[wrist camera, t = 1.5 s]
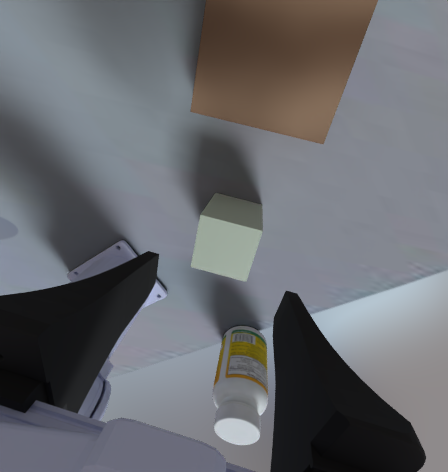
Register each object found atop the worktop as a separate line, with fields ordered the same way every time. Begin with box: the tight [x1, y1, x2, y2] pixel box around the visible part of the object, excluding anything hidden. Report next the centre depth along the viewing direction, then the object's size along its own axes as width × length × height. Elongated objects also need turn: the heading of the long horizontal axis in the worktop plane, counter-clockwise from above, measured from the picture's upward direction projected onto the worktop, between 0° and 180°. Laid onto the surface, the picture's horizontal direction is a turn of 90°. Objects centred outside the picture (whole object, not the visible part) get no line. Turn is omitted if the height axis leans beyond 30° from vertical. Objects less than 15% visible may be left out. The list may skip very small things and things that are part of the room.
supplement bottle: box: [213, 326, 268, 445], centre depth 25 cm, size 5×5×10 cm
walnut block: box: [191, 0, 378, 144], centre depth 16 cm, size 9×9×4 cm
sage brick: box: [191, 193, 263, 282], centre depth 20 cm, size 4×4×6 cm
